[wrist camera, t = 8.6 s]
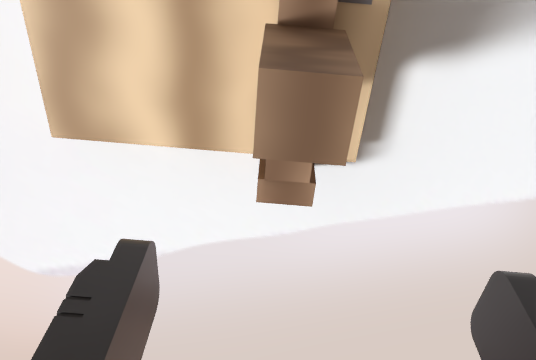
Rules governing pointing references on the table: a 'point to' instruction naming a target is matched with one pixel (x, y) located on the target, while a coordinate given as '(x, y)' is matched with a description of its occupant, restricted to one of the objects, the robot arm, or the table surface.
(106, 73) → the oak board
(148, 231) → the table surface
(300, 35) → the marking gauge
